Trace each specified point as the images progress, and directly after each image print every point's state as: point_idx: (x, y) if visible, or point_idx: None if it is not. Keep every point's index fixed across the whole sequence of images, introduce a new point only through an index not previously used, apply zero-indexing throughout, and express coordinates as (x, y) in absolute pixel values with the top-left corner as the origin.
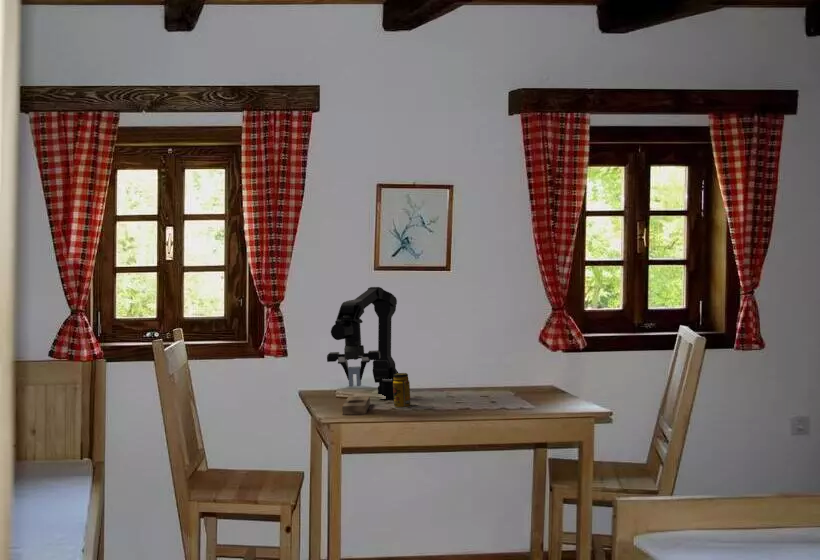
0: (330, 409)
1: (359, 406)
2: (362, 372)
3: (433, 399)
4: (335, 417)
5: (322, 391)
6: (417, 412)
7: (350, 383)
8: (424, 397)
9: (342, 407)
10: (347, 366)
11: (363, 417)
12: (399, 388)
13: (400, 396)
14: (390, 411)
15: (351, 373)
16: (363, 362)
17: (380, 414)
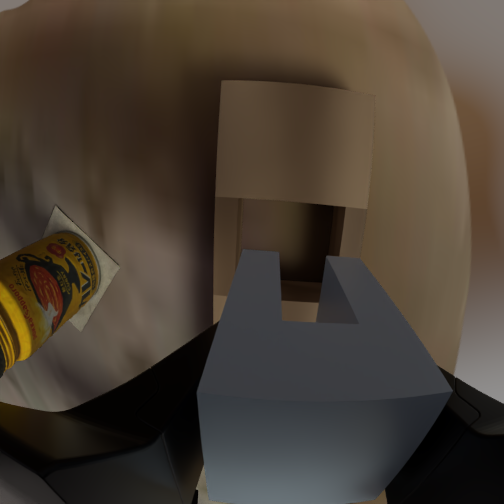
0: (413, 288)
1: (259, 82)
2: (173, 357)
3: None
4: (388, 49)
5: None
6: (19, 112)
7: (351, 269)
8: (60, 399)
9: (372, 96)
10: (428, 472)
11: (238, 6)
12: (10, 261)
13: (36, 246)
14: (103, 145)
15: (367, 330)
16: (2, 423)
17: (149, 69)
